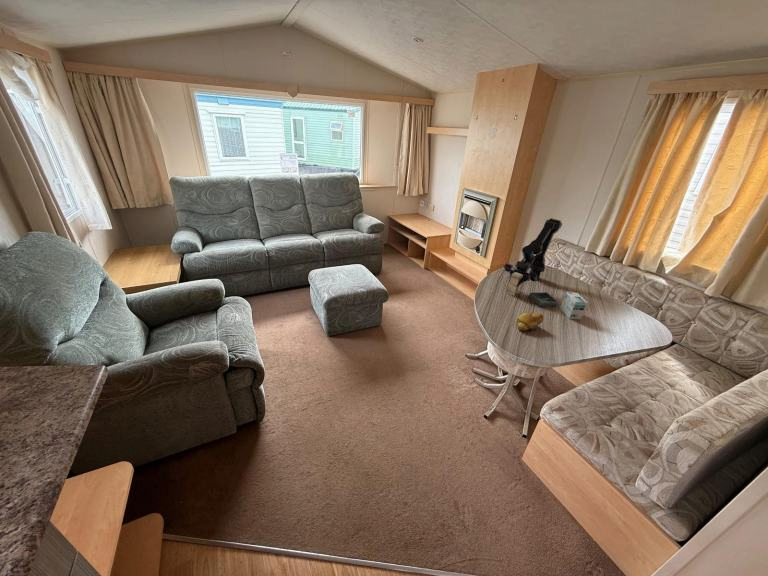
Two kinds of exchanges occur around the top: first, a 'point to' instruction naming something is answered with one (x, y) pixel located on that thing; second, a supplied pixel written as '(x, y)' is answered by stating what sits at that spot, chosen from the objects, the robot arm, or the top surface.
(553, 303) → the grey green tray
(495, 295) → the top surface
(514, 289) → the tall beech block
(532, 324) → the bread roll
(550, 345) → the top surface
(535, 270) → the robot arm
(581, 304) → the light bulb box
